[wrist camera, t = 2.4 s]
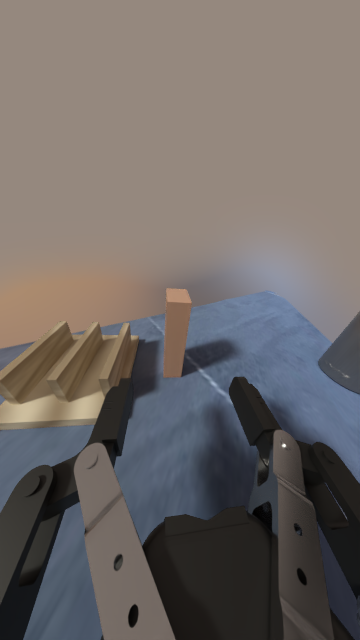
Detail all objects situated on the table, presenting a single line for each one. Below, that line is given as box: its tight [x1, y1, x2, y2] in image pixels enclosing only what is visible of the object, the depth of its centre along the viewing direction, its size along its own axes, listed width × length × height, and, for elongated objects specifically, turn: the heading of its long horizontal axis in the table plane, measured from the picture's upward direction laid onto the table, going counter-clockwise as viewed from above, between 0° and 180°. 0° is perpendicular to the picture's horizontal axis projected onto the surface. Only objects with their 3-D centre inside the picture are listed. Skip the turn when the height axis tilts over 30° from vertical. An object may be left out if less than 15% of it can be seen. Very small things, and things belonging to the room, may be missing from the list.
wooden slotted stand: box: [0, 321, 139, 430], centre depth 22 cm, size 14×16×6 cm
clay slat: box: [164, 288, 192, 378], centre depth 23 cm, size 3×5×14 cm, turn 5°
